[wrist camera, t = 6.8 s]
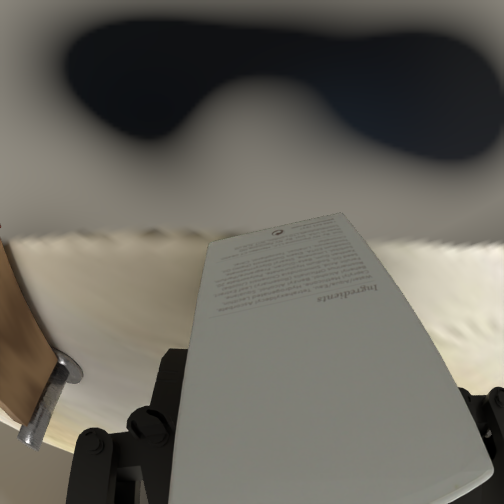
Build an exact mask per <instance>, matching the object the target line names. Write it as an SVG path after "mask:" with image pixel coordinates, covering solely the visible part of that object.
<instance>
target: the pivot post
mask: <svg viewBox="0 0 504 504" xmlns="http://www.w3.org/2000/svg"><path fill="white" fill-rule="evenodd" d="M51 349H52V351H53V352H54V354H55V356H56V357H57V359H58V361H57V363H56V365H55V367H54V369H53V371H52V373H51V375H50V377H49V379H48V381H47V383H46V385H45V387H44V390H43V392H42V394H41V396H40V398H39V400H38V403H37V405H36V407H35V409H34V412H33V414H32V417H31V419H30V421H29V424H28V426H27V427H26V426H24V425H22V426H21V429H20V431H19V434H18V436H17V439H18V440H19V441H21V442H22V443H24V444H25V445H26V446H28V447H29V448H31V449H33V450H35V451H39V449H40V446H41V443H42V440H43V437H44V435H45V432H46V429H47V427H48V424H49V421H50V419H51V416H52V414H53V411H54V409H55V406H56V404H57V401H58V399H59V397H60V394H61V392H62V390H63V388H64V385H65V383H66V382H68V383H72V384H77V383H79V382H80V381H81V379H82V377H83V373H82V370H81V368H80V367H79V365H78V364H77V363H76V362H75V361H74V360H73V359H72V358H70V357H69V356H68V355H66V354H65V353H63V352H61V351H59V350H57V349H53V348H51Z"/></svg>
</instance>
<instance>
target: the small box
mask: <svg viewBox="0 0 504 504" xmlns="http://www.w3.org/2000/svg"><path fill="white" fill-rule="evenodd" d="M493 473H494V468H493V464H492V462H491V459H490V457H489V454H488V452H487V450H486V448H485V445H484V443H483V440H482V438H481V435H480V433H479V431H478V428H477V426H476V423H475V421H474V419H473V417H472V415H471V413H470V411H469V409H468V407H467V405H466V403H465V400H464V398H463V396H462V394H461V392H460V390H459V388H458V387H457V385H456V383H455V381H454V379H453V377H452V375H451V374H450V372H449V370H448V368H447V366H446V364H445V362H444V361H443V359H442V357H441V355H440V353H439V351H438V350H437V348H436V346H435V345H434V343H433V341H432V339H431V338H430V336H429V334H428V333H427V331H426V330H425V328H424V326H423V325H422V323H421V321H420V320H419V318H418V317H417V315H416V313H415V312H414V310H413V309H412V307H411V306H410V304H409V302H408V301H407V299H406V298H405V296H404V295H403V293H402V292H401V290H400V289H399V287H398V286H397V285H396V283H395V282H394V280H393V279H392V277H391V276H390V274H389V273H388V272H387V270H386V269H385V268H384V266H383V265H382V263H381V262H380V261H379V259H378V258H377V256H376V255H375V254H374V252H373V251H372V250H371V248H370V247H369V246H368V244H367V243H366V241H365V240H364V239H363V238H362V236H361V235H360V234H359V233H358V231H357V230H356V229H355V228H354V227H353V225H352V224H351V223H350V221H349V220H348V219H347V218H346V216H345V215H344V214H343V213H336V214H333V215H327V216H323V217H318V218H314V219H309V220H304V221H300V222H295V223H291V224H287V225H283V226H278V227H274V228H269V229H265V230H260V231H256V232H252V233H247V234H243V235H239V236H234V237H230V238H226V239H222V240H217V241H213V242H210V243H209V245H208V249H207V254H206V259H205V263H204V268H203V273H202V278H201V283H200V288H199V293H198V298H197V303H196V309H195V314H194V320H193V325H192V331H191V337H190V342H189V348H188V354H187V361H186V366H185V373H184V379H183V385H182V392H181V400H180V406H179V413H178V419H177V426H176V435H175V443H174V452H173V462H172V472H171V481H170V491H169V501H168V504H448V503H450V502H452V501H454V500H456V499H457V498H459V497H461V496H463V495H465V494H466V493H468V492H470V491H471V490H473V489H474V488H476V487H478V486H479V485H481V484H482V483H484V482H485V481H486V480H488V479H489V478H490V477H491V476H492V475H493Z"/></svg>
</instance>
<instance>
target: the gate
mask: <svg viewBox="0 0 504 504" xmlns="http://www.w3.org/2000/svg"><path fill="white" fill-rule="evenodd" d="M0 228H1V225H0ZM57 361H58V359H57V357H56V356H55V354H54V352H53V351H52V349H51V347H50V346H49V344H48V342H47V341H46V339H45V337H44V335H43V334H42V332H41V330H40V328H39V326H38V325H37V323H36V321H35V319H34V317H33V315H32V313H31V311H30V309H29V307H28V305H27V303H26V301H25V299H24V297H23V294H22V292H21V290H20V288H19V286H18V283H17V281H16V279H15V276H14V274H13V271H12V269H11V266H10V264H9V261H8V258H7V256H6V253H5V250H4V247H3V244H2V242H1V239H0V407H1V408H2V409H3V410H4V411H5V412H6V413H7V414H8V415H9V416H10V417H11V418H12V419H13V420H14V421H15V422H17V423H20V424H22V425H24V426H26V427H27V426H28V424H29V421H30V419H31V417H32V414H33V412H34V409H35V407H36V405H37V403H38V400H39V398H40V396H41V394H42V392H43V390H44V387H45V385H46V383H47V381H48V379H49V377H50V375H51V373H52V371H53V369H54V367H55V365H56V363H57Z"/></svg>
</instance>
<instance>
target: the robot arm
mask: <svg viewBox="0 0 504 504" xmlns="http://www.w3.org/2000/svg"><path fill="white" fill-rule="evenodd" d="M187 354H188V349H169V350H168V351H167V352H166V354H165V355H164V356H163V357H162V359H161V363H160V367H159V372H158V374H157V378H156V382H155V387H154V391H153V395H152V399H151V403H150V406H144V407H141V408H138V409H136V410H135V411H134V412H133V413H131V415H130V416H129V418H128V420H127V427H126V428H127V429H128V430H129V431H128V432H121V433H113V434H108V433H107V432H106V431H105V430H103V429H100V428H89V429H86V430H84V431H83V432H82V433H81V434H80V435H79V437H78V439H77V442H76V446H75V451H74V457H73V461H72V466H71V472H70V478H69V484H68V491H67V498H66V504H140V484H141V480H143V481H144V486H145V490H146V494H147V499H148V502H149V504H168V501H169V491H170V481H171V472H172V462H173V452H174V443H175V435H176V426H177V419H178V413H179V406H180V400H181V392H182V385H183V379H184V373H185V366H186V361H187ZM458 388H459V390H460V392H461V394H462V396H463V398H464V400H465V403H466V405H467V407H468V409H469V411H470V413H471V415H472V417H473V419H474V421H475V423H476V426H477V428H478V431H479V433H480V435H481V438H482V440H483V443H484V445H485V448H486V450H487V452H488V454H489V457H490V459H491V462H492V464H493V468H494V473H493V475H492V476H491V477H490V478H489V479H488V480H486V481H485V482H484V483H482V484H481V485H479V486H478V487H476V488H474V489H473V490H471V491H470V492H468V493H466V494H465V495H463V496H461V497H459V498H457V499H456V500H454V501H452V502H450V503H448V504H504V388H502V387H495V388H493V389H492V390H491V391H490V392H489V393H488V395H471V394H470V393H469V392H468V391H467V390H465V389H464V388H460V387H458ZM489 430H491V433H492V435H491V436H488V435H487V432H488V431H489Z"/></svg>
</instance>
